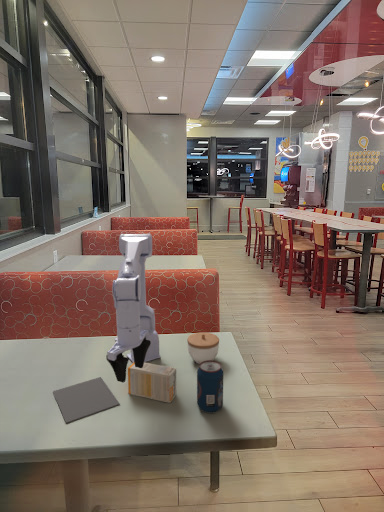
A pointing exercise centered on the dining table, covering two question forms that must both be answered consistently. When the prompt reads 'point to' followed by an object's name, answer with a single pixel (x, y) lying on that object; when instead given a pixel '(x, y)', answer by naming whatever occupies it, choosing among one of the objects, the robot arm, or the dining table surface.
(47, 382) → the dining table surface
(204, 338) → the lidded jar
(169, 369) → the supplement box
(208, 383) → the soda can
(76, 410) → the mat
